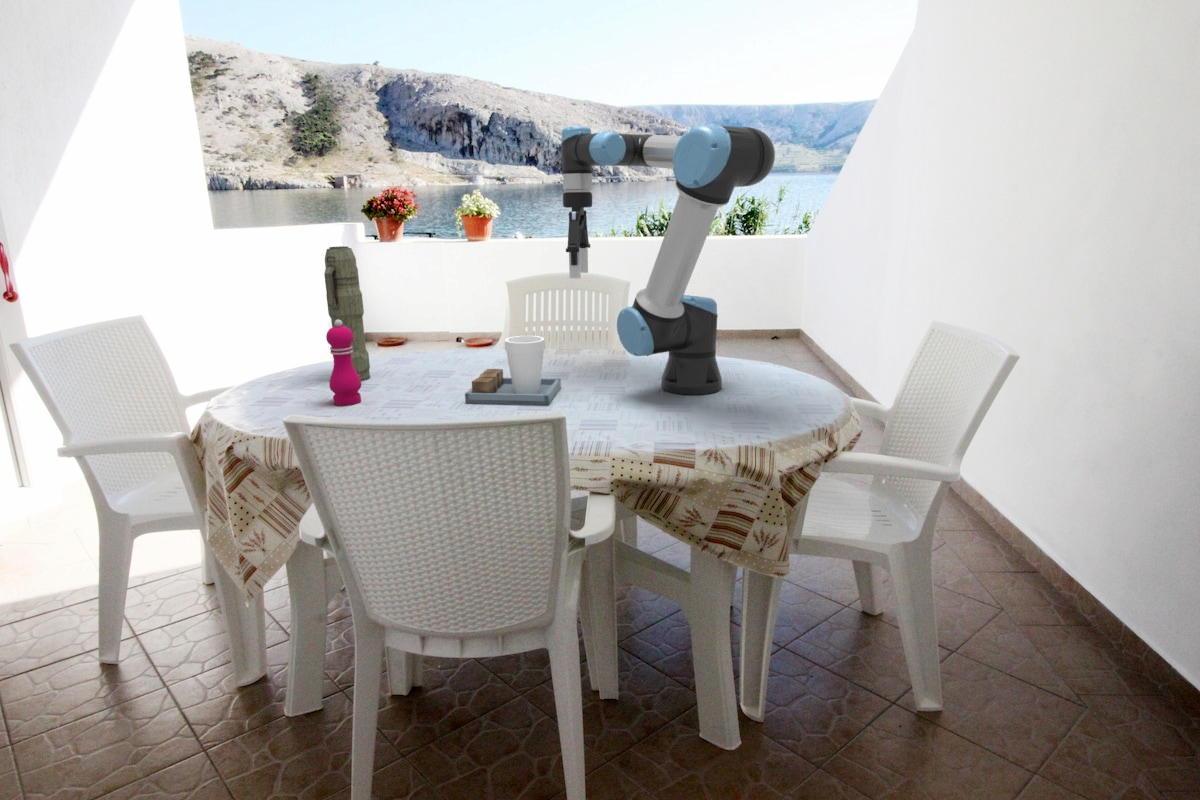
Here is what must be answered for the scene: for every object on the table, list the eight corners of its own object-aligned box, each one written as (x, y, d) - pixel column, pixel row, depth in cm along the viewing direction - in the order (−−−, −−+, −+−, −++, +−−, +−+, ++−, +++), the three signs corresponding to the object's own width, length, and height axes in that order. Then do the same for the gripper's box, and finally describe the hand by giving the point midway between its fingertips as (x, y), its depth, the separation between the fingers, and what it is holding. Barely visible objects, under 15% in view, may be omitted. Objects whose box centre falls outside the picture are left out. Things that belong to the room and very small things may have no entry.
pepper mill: (333, 407, 167) (323, 323, 161) (329, 400, 173) (319, 318, 167) (365, 403, 170) (356, 320, 164) (360, 396, 176) (351, 316, 170)
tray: (560, 387, 181) (560, 378, 181) (548, 405, 166) (548, 395, 166) (484, 386, 184) (483, 377, 183) (465, 403, 169) (464, 393, 168)
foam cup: (527, 399, 168) (525, 344, 164) (499, 393, 174) (496, 340, 170) (553, 390, 175) (552, 338, 172) (526, 384, 181) (524, 334, 177)
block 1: (494, 394, 173) (493, 378, 172) (488, 398, 169) (487, 382, 168) (479, 393, 174) (478, 377, 172) (472, 397, 170) (471, 381, 169)
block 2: (498, 388, 178) (497, 373, 176) (496, 392, 174) (495, 376, 173) (481, 388, 177) (481, 373, 176) (479, 393, 174) (478, 377, 173)
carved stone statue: (326, 383, 189) (310, 248, 179) (349, 372, 200) (335, 245, 190) (357, 384, 187) (342, 248, 177) (378, 373, 198) (365, 245, 188)
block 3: (503, 384, 182) (502, 369, 180) (499, 388, 178) (498, 372, 177) (488, 383, 182) (487, 368, 181) (483, 388, 178) (482, 372, 177)
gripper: (570, 191, 194) (572, 270, 200) (553, 191, 171) (556, 280, 177) (598, 191, 193) (599, 270, 199) (584, 191, 170) (586, 280, 176)
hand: (579, 275), depth 188 cm, fingers open, 13 cm apart
